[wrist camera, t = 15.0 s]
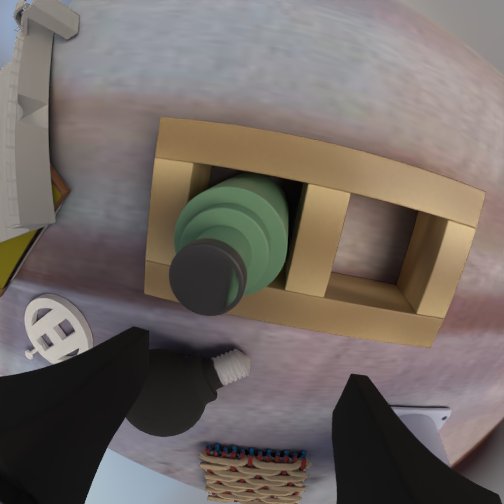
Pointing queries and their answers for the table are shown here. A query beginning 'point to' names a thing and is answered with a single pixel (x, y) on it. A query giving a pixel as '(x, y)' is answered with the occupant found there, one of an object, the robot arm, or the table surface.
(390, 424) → the robot arm
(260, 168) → the hole block
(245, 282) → the bottle
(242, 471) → the woven mat
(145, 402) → the light bulb
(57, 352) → the pendant
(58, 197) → the harmonica
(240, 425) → the table surface
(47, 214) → the skate ramp
